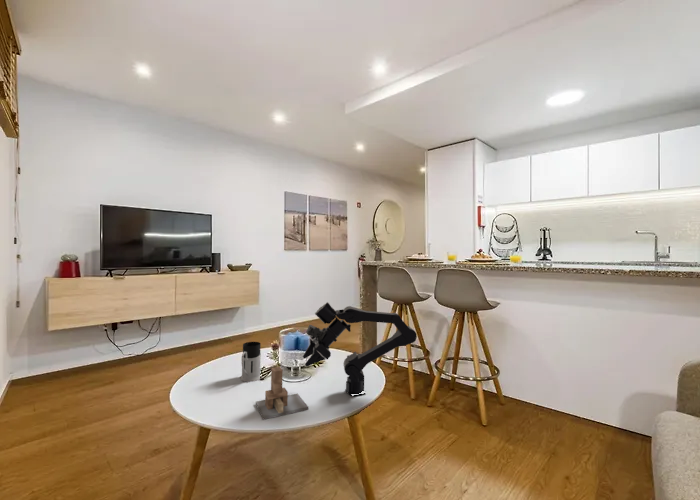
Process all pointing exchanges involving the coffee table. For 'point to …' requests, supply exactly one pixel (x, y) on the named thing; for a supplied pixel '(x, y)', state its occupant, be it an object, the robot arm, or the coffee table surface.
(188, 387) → the coffee table surface
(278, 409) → the cross plate base
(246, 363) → the glass holder
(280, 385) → the wooden block
